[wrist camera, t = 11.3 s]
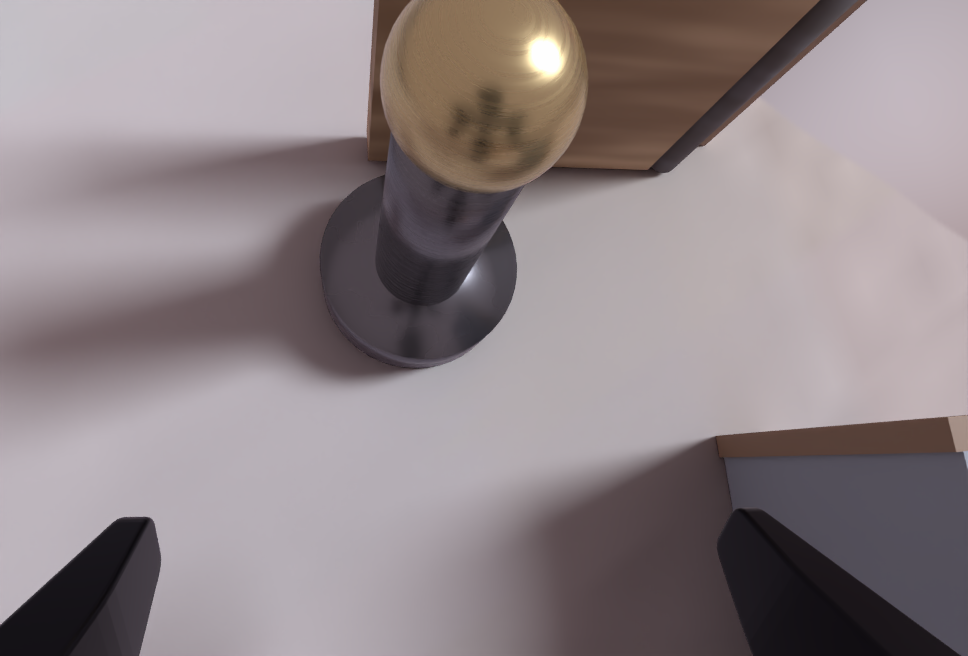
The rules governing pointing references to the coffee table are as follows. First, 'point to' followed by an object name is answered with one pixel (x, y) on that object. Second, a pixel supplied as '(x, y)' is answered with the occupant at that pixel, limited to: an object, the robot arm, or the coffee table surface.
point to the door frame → (869, 493)
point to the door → (654, 71)
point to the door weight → (452, 174)
